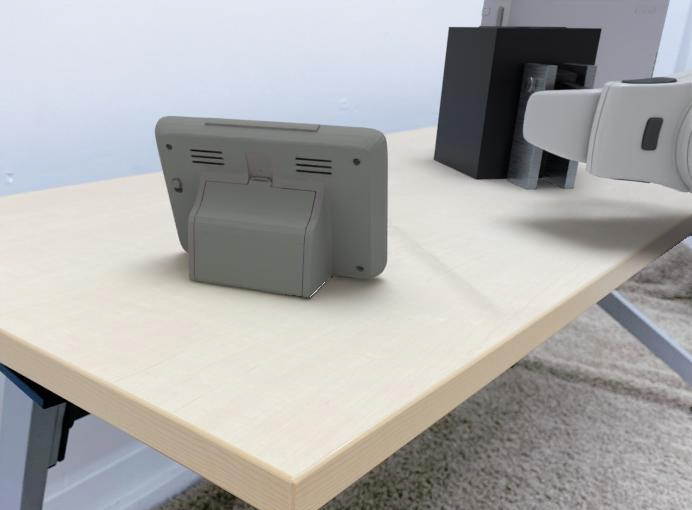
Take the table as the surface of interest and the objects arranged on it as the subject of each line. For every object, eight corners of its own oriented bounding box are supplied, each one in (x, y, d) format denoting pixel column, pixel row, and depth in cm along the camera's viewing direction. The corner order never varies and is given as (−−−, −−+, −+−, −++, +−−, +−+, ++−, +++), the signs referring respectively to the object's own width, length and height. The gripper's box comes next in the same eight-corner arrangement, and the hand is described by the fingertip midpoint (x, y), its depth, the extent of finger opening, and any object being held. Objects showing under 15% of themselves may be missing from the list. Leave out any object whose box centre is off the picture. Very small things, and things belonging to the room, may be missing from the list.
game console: (456, 157, 94) (476, -9, 86) (601, 145, 105) (631, -4, 97) (486, 165, 89) (512, -10, 81) (635, 151, 100) (671, -6, 92)
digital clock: (398, 278, 49) (414, 120, 45) (337, 318, 43) (348, 137, 38) (213, 240, 58) (212, 104, 54) (138, 268, 51) (129, 115, 47)
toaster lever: (642, 119, 62) (650, 90, 60) (577, 120, 61) (585, 91, 60) (574, 93, 71) (581, 68, 70) (518, 94, 70) (523, 68, 69)
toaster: (570, 188, 77) (602, 27, 70) (474, 191, 75) (497, 26, 69) (517, 168, 88) (540, 26, 81) (432, 169, 86) (448, 25, 80)
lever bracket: (582, 201, 72) (609, 65, 66) (516, 202, 71) (539, 66, 65) (555, 190, 76) (579, 63, 71) (494, 191, 75) (513, 63, 70)
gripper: (864, 83, 50) (719, 69, 62) (594, 83, 47) (499, 68, 60) (832, 173, 52) (699, 143, 65) (574, 178, 50) (487, 145, 62)
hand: (601, 107), depth 62 cm, fingers closed on toaster lever, 6 cm apart
